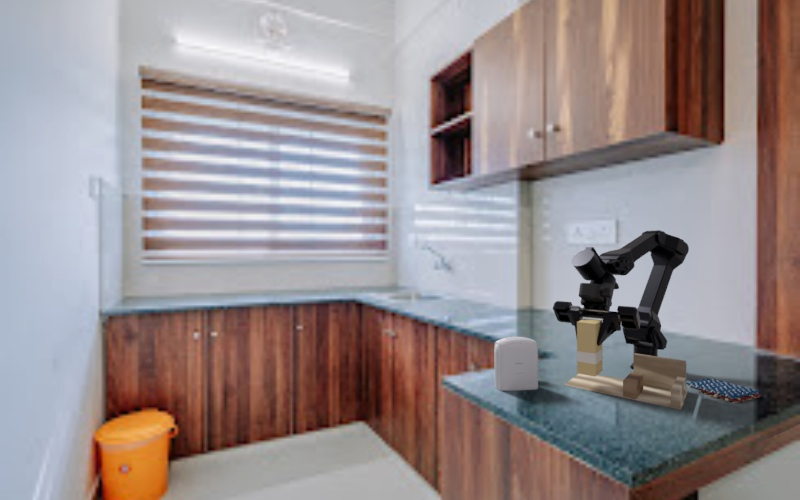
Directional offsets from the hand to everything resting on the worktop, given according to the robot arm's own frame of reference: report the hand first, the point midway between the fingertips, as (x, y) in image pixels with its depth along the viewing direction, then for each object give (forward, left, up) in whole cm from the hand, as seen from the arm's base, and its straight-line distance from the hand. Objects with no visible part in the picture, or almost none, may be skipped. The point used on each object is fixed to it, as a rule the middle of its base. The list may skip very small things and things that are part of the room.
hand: (587, 343), depth 93 cm
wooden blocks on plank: (-6, +6, -11) cm, 14 cm away
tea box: (-2, 0, -7) cm, 7 cm away
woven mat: (-19, +24, -12) cm, 33 cm away
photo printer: (+10, -13, -11) cm, 20 cm away
